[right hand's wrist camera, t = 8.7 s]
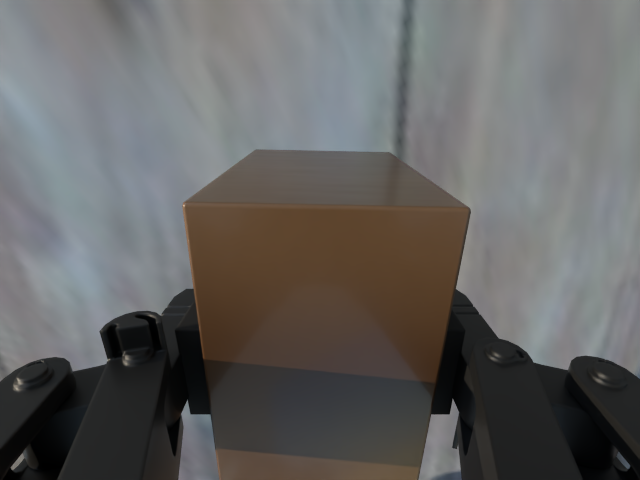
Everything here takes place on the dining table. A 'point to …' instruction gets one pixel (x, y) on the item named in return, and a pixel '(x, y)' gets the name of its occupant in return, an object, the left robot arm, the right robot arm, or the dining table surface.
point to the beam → (323, 311)
